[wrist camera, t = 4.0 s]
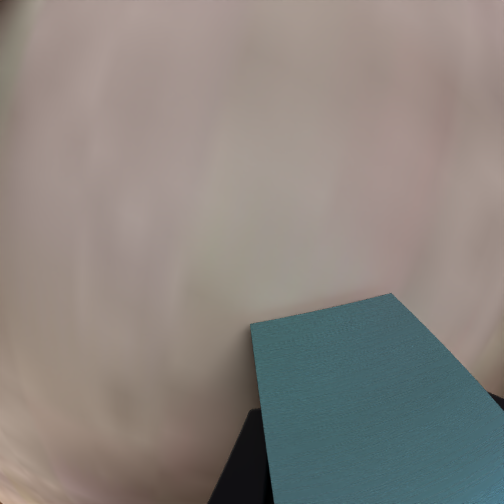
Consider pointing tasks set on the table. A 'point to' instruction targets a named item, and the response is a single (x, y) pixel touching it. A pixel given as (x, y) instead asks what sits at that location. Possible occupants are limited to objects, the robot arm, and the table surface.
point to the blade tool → (373, 411)
